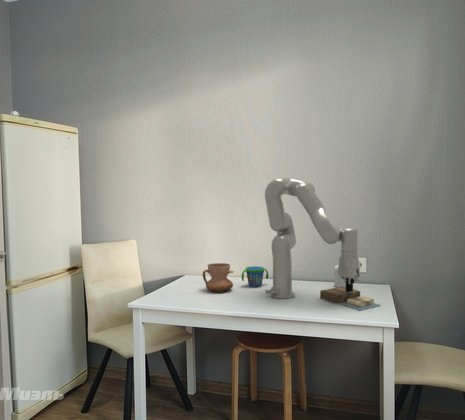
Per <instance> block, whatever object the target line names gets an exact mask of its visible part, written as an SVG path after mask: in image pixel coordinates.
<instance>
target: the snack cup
mask: <svg viewBox="0 0 465 420" xmlns="http://www.w3.org/2000/svg"><path fill="white" fill-rule="evenodd" d="M264 272H266V274H265V273H264ZM245 273H246V277H247V283H248V286H249V287H250V288H251V287H252V288H257V287H261V286H262V285H263V280H264V274H265V279H267V280H268V279H269V271H268V269H266V268H265V267H262V266H255V265H253V266H246V267H245V269H244V270H243V271H242V272H241V281H242V282H245V280H244V279H245Z"/></svg>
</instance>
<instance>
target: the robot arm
mask: <svg viewBox="0 0 465 420" xmlns="http://www.w3.org/2000/svg"><path fill="white" fill-rule="evenodd" d="M282 195H288V196H293V197H296V198H297V200H298V201H299V203H300V204H301V205H302V207H303V209H304V210H305V212H306V213H307V215H309V218H310V220H311V222H312V224H313V226H314V228H315V230H316V231H317V233H318V235H319V236H320V237H321V239H322V240H323V241H324V242H325V243H326V244H328V245H334V244H336V243H338V242H340V244H341V245H340V246H341V247H340V249H341V250H340V256H339V258H338V265H339V266H338V274H339V276H340V277H341V278H343V279H344V281H345V283H346V292H352V291H353V290H354V284H355V282H358V281H359V280H360V279H359V278H360V276H361V275H360V274H361V273H360V272H361V269H360V268H361V266H360V260H359V256H358V229H357V228H355V227H340V226H339V227H338V226H333V225H332V223H331V221H330V220H329V218H328V216H327V213H326V208H325V205H324V204H323V201H321V200H320V198H319V197H318V195H317V194H316V189H315V186H314V185H313V184H312V183H311V182H307V181H302V180H298V179H292V178H290V177H277V178H274V179H272V181H270V182H269V183H268V184H267V186H266V188H265V190H264V201H265V206H266V212H267V217H268V223H269V227H270V229H271V230H272V231H274V232H276V235H275V236H274V237H273V239H272V241H271V254H272V282H273V283H272V286H271V288H269V289H266V290H264V292H265V294H267V295H268V294H269V296H270V297H272V298H276V299H290V298H291V299H292V298H294V297H295V296H296V293H295V292H294V291H293V288H292V287H293V276H292V275H293V274H292V273H293V269H292V267H293V265H292V264H293V263H292V252H291V250H292V249H293V248H294V247H296V242H297V237H296V232H295V227H294V223H293V219H292V217H291V215H290V214H289V213H287V212H286V211H285V208H284V203H283V200H282Z"/></svg>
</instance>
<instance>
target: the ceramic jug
mask: <svg viewBox="0 0 465 420" xmlns="http://www.w3.org/2000/svg"><path fill="white" fill-rule="evenodd" d="M230 268H231V264H230V263H227V262H222V263H219V262H218V263H217V262H214V263H208V264H207V269H204V270H203V271H202V279H203V281H204V283H205V287H206V289H207V290H209V291H210V292H215V293H223V292H224V293H225V292H228V291H230V290H231V289H232V288H234V287H233V286H234V283H233V281H232V280H230V279H229V278H227V277H228V276H229V274H230V273H231V274H234V272H235V271H234V270H233V269H230ZM206 273H208V274H209V275H210V277H211V278H210V279H209V280H208V281H207V278H206Z"/></svg>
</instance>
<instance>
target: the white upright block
mask: <svg viewBox="0 0 465 420" xmlns="http://www.w3.org/2000/svg"><path fill="white" fill-rule="evenodd" d="M338 266H339V264H337V265H335V266H334V275H333V276H334V283H333V285H334V288H337V287H346V283H345V281H344V279H343V278H341V277H340V276H339V274H338Z"/></svg>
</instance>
